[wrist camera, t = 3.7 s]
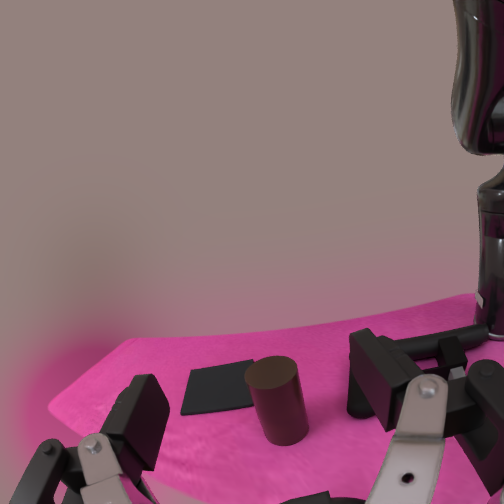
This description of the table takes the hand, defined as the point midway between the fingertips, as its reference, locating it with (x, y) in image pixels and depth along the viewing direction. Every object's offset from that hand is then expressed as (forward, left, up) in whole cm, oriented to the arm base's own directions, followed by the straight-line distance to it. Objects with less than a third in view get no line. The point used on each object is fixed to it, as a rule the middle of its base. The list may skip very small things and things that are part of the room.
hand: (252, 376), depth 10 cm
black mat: (+8, -21, -18) cm, 29 cm away
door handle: (-17, -10, -18) cm, 27 cm away
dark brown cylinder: (0, -11, -18) cm, 21 cm away
